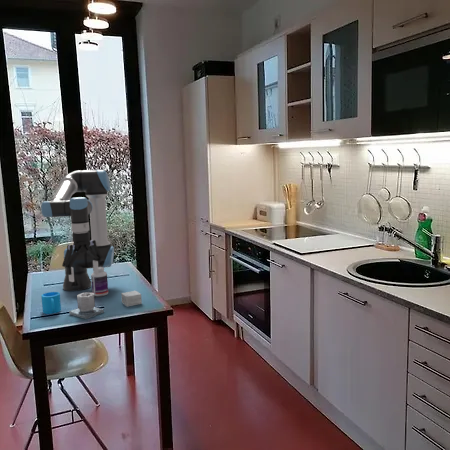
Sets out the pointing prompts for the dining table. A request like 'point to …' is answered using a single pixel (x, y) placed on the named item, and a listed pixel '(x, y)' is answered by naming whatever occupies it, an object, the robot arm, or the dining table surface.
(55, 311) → the mug
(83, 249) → the robot arm
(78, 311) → the block
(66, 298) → the dining table surface
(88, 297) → the tube
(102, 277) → the pill bottle
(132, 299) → the small box
